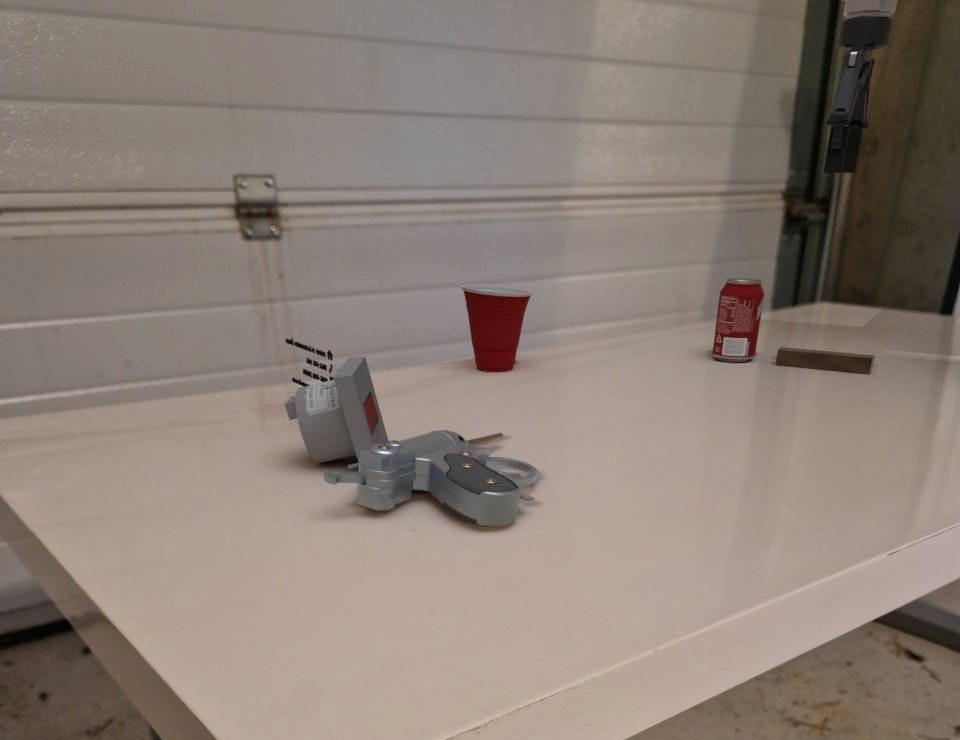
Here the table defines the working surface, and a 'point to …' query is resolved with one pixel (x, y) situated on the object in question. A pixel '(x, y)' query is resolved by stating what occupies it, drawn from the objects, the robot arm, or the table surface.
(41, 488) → the table surface
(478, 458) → the grey metal jointed piece
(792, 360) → the walnut stick
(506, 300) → the plastic cup
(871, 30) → the robot arm
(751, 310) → the soda can
